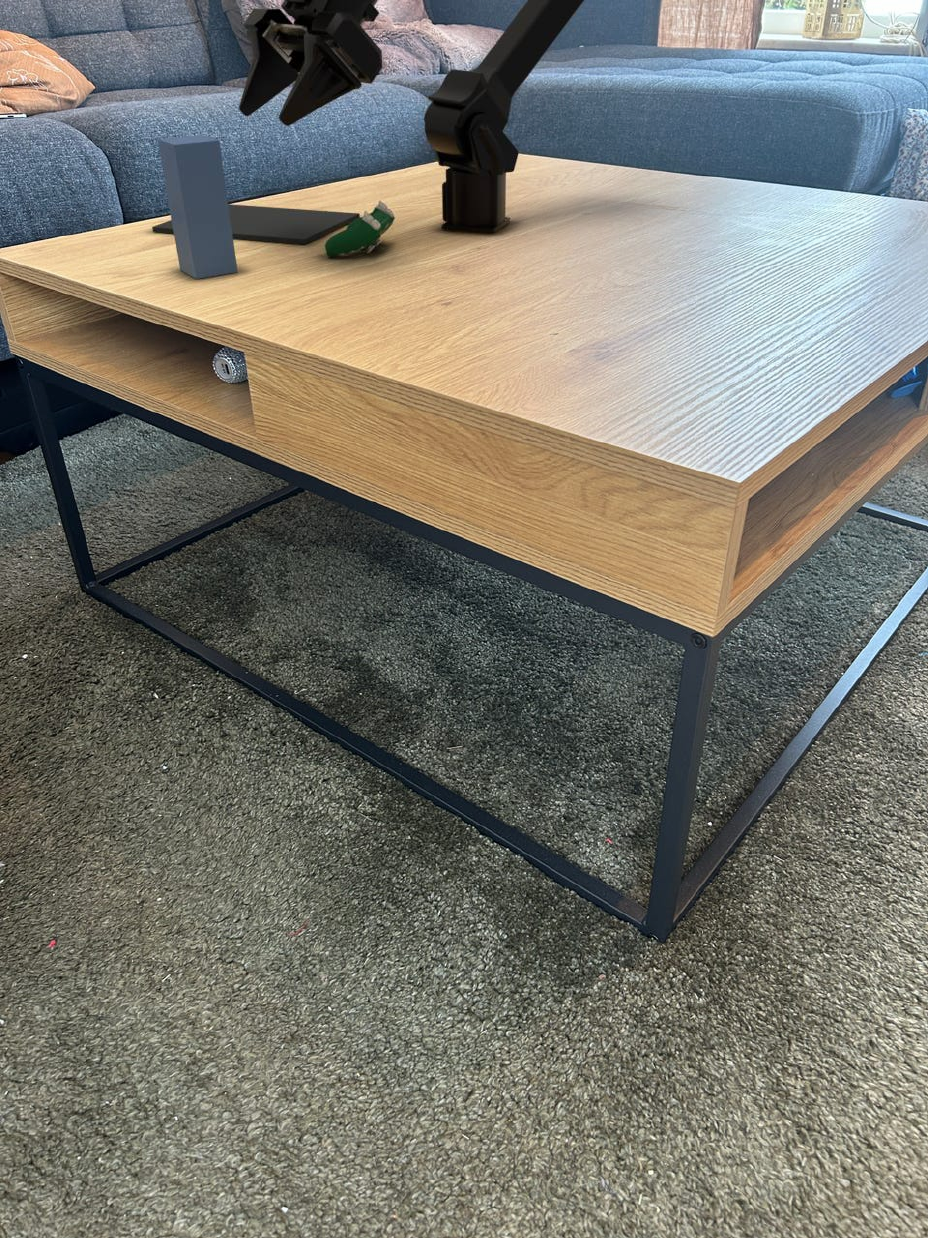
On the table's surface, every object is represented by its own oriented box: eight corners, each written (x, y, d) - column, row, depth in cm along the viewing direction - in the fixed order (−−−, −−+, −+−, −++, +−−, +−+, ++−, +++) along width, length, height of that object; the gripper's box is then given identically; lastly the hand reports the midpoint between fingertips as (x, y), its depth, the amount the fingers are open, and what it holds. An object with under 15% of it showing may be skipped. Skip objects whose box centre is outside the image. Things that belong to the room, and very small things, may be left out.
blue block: (220, 263, 99) (201, 134, 93) (237, 272, 96) (219, 139, 90) (179, 269, 97) (157, 138, 91) (196, 279, 94) (174, 144, 88)
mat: (360, 218, 117) (359, 213, 116) (305, 244, 106) (304, 238, 105) (218, 208, 122) (217, 203, 122) (152, 232, 112) (151, 226, 111)
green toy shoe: (345, 277, 101) (382, 236, 98) (318, 249, 100) (355, 207, 97) (369, 255, 109) (404, 217, 105) (345, 229, 107) (379, 190, 104)
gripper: (249, -92, 92) (160, 47, 94) (342, -103, 80) (237, 58, 81) (329, 3, 101) (246, 130, 102) (425, 7, 88) (329, 151, 89)
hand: (262, 117), depth 93 cm, fingers open, 9 cm apart
